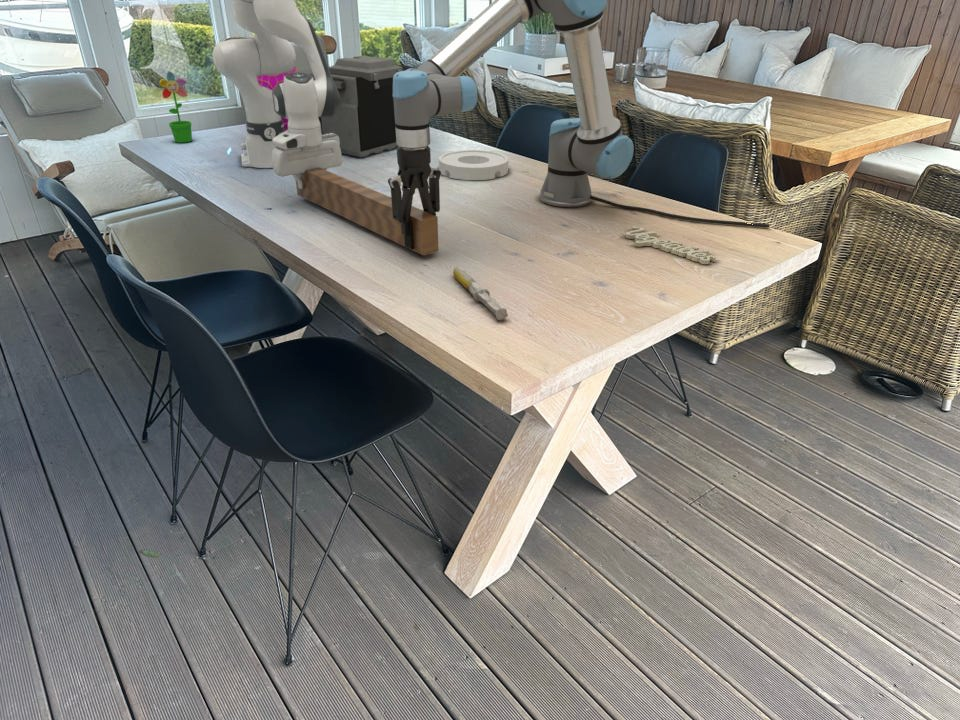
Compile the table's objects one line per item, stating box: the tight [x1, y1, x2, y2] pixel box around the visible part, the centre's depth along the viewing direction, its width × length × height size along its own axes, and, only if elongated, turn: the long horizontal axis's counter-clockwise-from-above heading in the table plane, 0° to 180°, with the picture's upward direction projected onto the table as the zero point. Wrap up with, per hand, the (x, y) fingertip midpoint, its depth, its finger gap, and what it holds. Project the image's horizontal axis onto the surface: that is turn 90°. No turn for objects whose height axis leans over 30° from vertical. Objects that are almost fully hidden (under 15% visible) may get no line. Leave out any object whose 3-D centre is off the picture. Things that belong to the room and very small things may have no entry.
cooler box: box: [310, 55, 418, 159], centre depth 250 cm, size 37×22×30 cm, turn 144°
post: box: [295, 168, 440, 256], centre depth 180 cm, size 61×5×8 cm, turn 41°
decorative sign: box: [624, 226, 717, 265], centre depth 170 cm, size 26×1×10 cm
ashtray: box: [438, 149, 509, 181], centre depth 229 cm, size 23×23×4 cm
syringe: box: [452, 266, 509, 321], centre depth 145 cm, size 25×4×3 cm, turn 21°
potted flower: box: [158, 70, 193, 144], centre depth 255 cm, size 9×8×25 cm
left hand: (311, 186), depth 197 cm, fingers closed on post, 4 cm apart
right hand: (418, 244), depth 165 cm, fingers closed on post, 5 cm apart
